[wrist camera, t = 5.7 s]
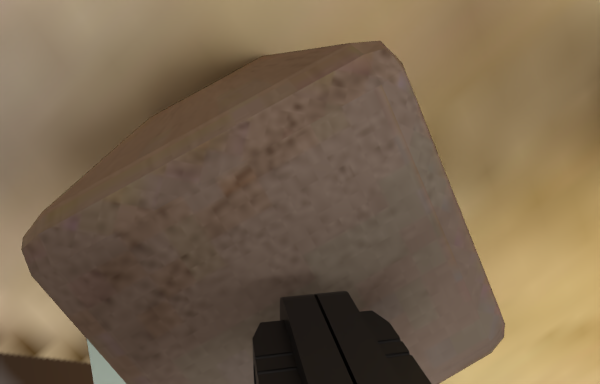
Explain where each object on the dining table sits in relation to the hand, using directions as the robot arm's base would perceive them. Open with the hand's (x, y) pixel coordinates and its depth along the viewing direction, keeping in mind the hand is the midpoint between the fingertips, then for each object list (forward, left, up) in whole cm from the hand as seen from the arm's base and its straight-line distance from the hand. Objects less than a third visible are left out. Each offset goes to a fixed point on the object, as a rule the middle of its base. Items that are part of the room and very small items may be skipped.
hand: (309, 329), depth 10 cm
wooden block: (0, 0, -21) cm, 21 cm away
